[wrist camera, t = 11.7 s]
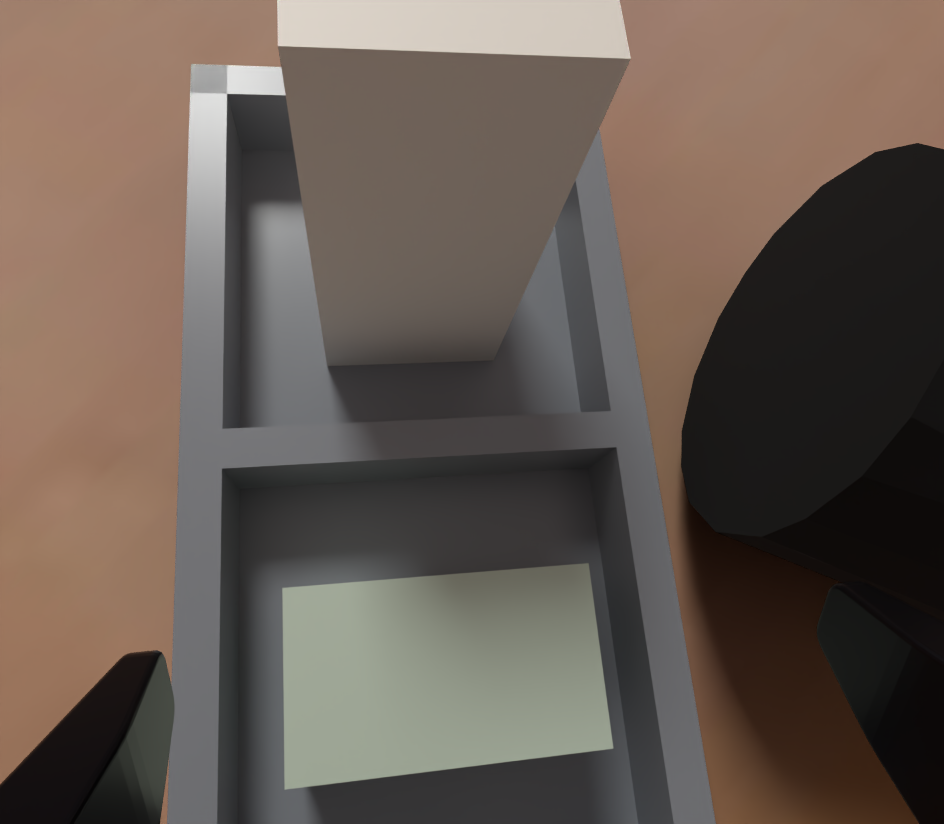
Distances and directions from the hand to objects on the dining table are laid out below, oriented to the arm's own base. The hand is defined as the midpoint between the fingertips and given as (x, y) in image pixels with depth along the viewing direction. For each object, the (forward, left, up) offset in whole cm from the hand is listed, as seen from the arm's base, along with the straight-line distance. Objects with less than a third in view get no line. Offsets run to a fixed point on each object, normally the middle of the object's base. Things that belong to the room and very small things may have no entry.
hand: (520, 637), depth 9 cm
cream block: (+8, +6, -10) cm, 15 cm away
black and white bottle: (+13, -20, -12) cm, 27 cm away
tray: (+4, +3, -11) cm, 12 cm away
